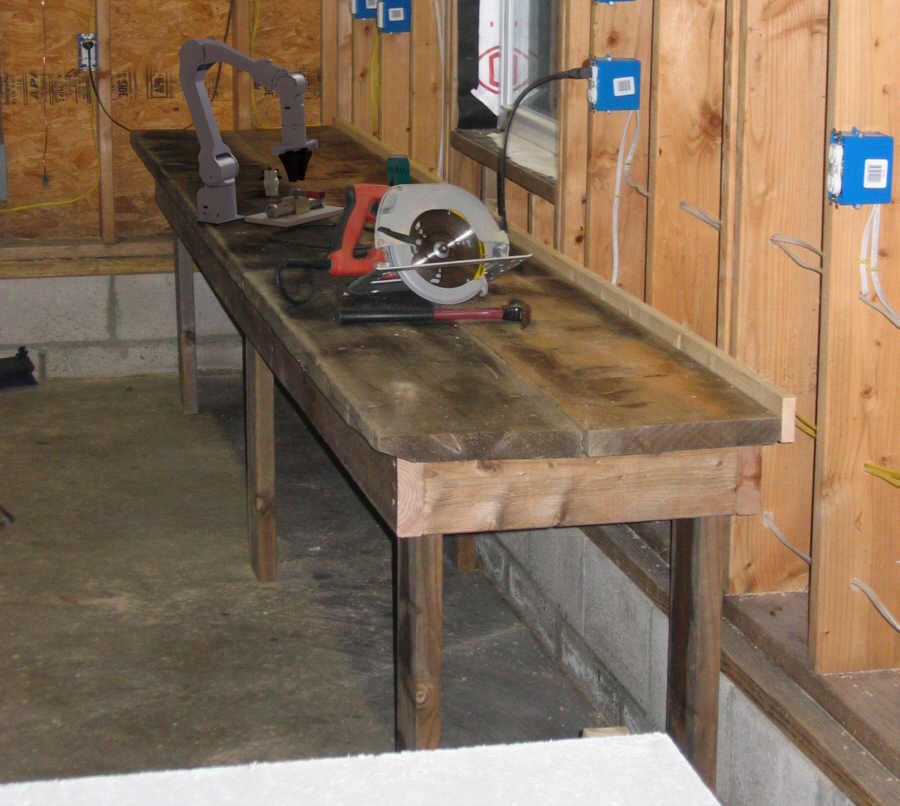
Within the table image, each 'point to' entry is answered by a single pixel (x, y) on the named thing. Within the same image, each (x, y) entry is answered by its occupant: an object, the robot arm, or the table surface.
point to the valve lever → (308, 193)
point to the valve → (270, 181)
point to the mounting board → (295, 217)
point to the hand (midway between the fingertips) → (296, 181)
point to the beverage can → (398, 170)
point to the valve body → (293, 206)
